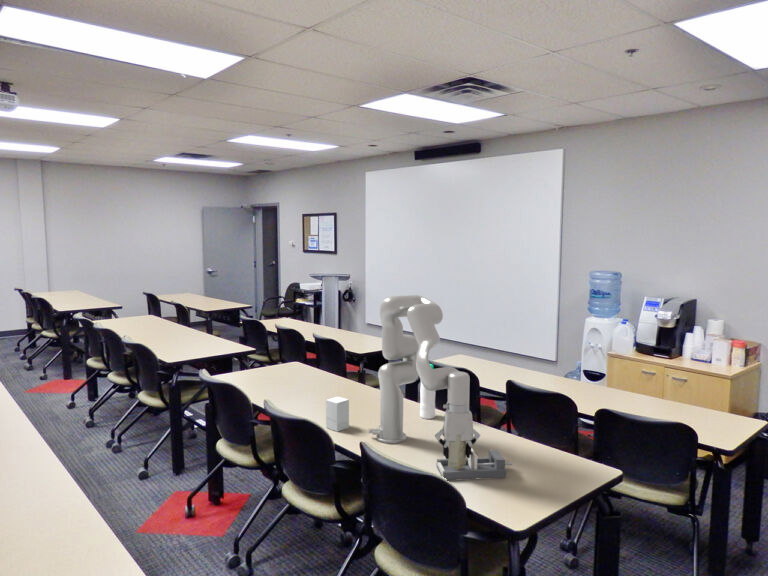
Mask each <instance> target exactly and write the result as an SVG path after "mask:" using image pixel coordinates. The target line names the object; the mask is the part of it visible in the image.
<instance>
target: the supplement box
mask: <svg viewBox="0 0 768 576" xmlns="http://www.w3.org/2000/svg"><path fill="white" fill-rule="evenodd" d="M325 416H326V417H325V420H326V421H325V424H326V425H325V427H326V428H327V429H329V430H332V431H335V432H340V431H344V430H347V429H349V428H350V399H348V398H344V397H341V396H335V397H332V398H328V399H326V400H325Z"/></svg>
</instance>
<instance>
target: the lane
mask: <svg viewBox="0 0 768 576" xmlns="http://www.w3.org/2000/svg"><path fill="white" fill-rule="evenodd" d="M505 462H506V459H505V458H504V457H503V455H502V454H501V453H500V451H499V450H498V449H489V450H488V457H485V456H484V457H477V463H494V466H477V470H472V469H471V468H470V466H469V465H468V458H467V457H466V464H465V465H464V466H463V467H462V468H461V469H459V470H458V469H453V468H450V467H448V459H446V458H437V459H436V468H437V470H438V472H439V474H440V477H441V476H443V477H444V478H446V479H447V480H446V481H457V480H456V479H468V480H477V479H476V478H494V479H506V478H507V470H506V465H505Z"/></svg>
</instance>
